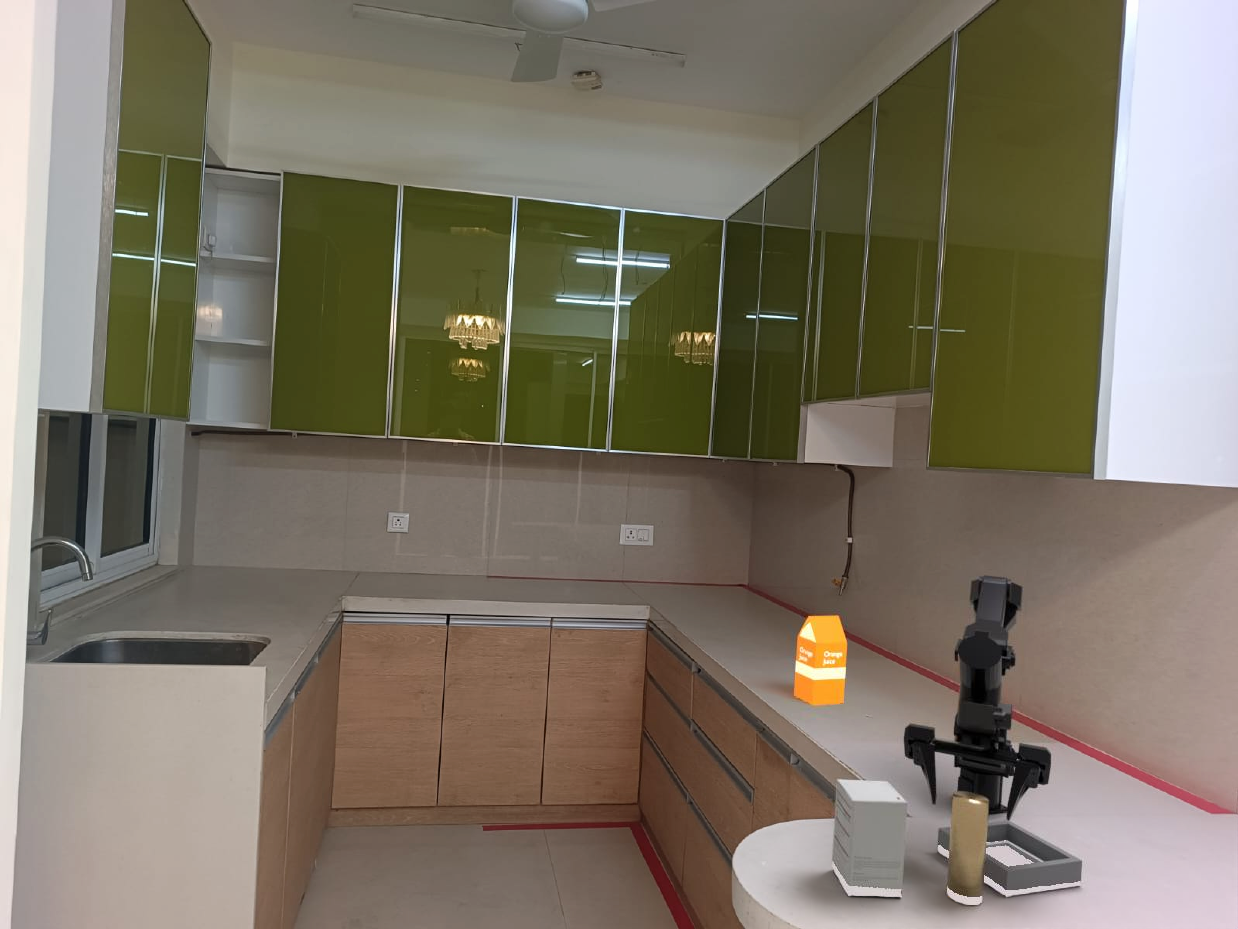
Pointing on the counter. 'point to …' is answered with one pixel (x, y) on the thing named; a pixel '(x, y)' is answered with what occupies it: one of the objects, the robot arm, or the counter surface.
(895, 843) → the supplement box
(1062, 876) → the walled box
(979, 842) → the shiny gold cylinder
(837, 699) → the orange juice
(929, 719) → the counter surface
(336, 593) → the counter surface
